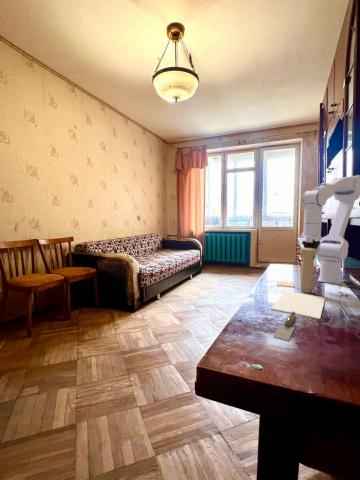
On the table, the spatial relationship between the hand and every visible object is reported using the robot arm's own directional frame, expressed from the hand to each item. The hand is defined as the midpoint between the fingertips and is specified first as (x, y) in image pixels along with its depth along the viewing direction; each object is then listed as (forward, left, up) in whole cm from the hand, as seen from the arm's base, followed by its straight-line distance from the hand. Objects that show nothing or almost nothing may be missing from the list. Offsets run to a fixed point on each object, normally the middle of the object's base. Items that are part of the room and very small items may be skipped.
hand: (310, 260), depth 91 cm
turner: (+42, 0, -10) cm, 43 cm away
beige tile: (+2, -8, -10) cm, 13 cm away
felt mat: (+22, 0, -10) cm, 24 cm away
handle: (+8, 0, -10) cm, 13 cm away
